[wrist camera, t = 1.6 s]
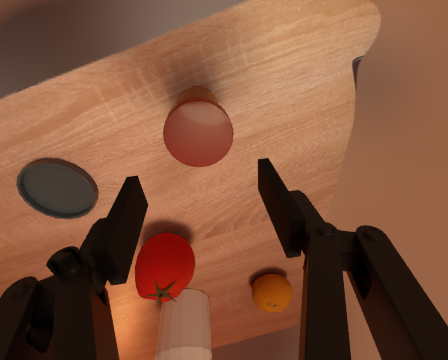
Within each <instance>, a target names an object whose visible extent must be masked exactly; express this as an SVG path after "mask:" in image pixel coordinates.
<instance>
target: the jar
mask: <svg viewBox="0 0 448 360" xmlns="http://www.w3.org/2000/svg"><path fill="white" fill-rule="evenodd" d="M192 97H203V98H207V99H210V100H213V101H214V102H216V103H218V101H217V99H216V97H215V95H214V94H213V93H212V92H211V91H210V90H209V89H207V88H205V87H202V86H192V87H189V88H187V89H185V90H184V91H183V92H182V93H181V94H180V96H179V98H178V101H177V104H178V103H179V102H181V101H183V100H185V99H188V98H192Z"/></svg>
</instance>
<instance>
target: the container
mask: <svg viewBox="0 0 448 360" xmlns="http://www.w3.org/2000/svg"><path fill="white" fill-rule="evenodd" d="M174 300H176V301H177V302H175V301H174ZM174 300H170V301H168V302H162V309H161V317H160V325H159V333H158V341H157V349H156V357H155V360H211V358H212V354H211V334H210V315H209V299H208V297H207V295H206V294H204V293H203V292H202V291H198V290H194V289H183V291H182V292H181V293H180V295H179V296H178V297H177V298H174Z"/></svg>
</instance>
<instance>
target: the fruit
mask: <svg viewBox="0 0 448 360" xmlns="http://www.w3.org/2000/svg"><path fill="white" fill-rule="evenodd" d="M292 294H293V292H292V287H291V284H290V283H289V281H288V280H287V279H286V278H284V277H283V276H281V275H278V274H266V275H263V276H260V277H259V278H257V279H256V280H255V282H254V284H253V287H252V297H253V300H254V302H255V304H256V305H257V307H258V308H260V309H261V310H263V311H267V312H279V311H282V310H283V309H285V308H286V307H287V306H288V304H289V303H290V301H291V299H292Z"/></svg>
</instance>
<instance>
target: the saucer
mask: <svg viewBox="0 0 448 360" xmlns="http://www.w3.org/2000/svg"><path fill="white" fill-rule="evenodd" d="M16 185H17V188H18V191H19V194H20V195H21V197H22V198H23V199H24V201H25V202H26V203H27V204H29V205H30V206H31V207H32V208H34V209H35V210H37V211H39V212H41V213H43V214H45V215H48V216H51V217H55V218H61V219H73V218H79V217H82V216H84V215H86V214H88V213H89V212H90V211H91V210H92V209H93V208H94V206H95V204H96V202H97V199H98V189H97V186H96V183H95V182H94V180H93V179H92V178H91V176H90V175H89V174H88V173H86V172H85V171H84V170H83V169H81V168H80V167H78V166H76V165H74V164H72V163H69V162H66V161H63V160H57V159H43V160H38V161H35V162H33V163H31V164H30V165H28V166H26V167H25V168H24V169H23V170H22V171H21V172H20V174H19V175H18V177H17V184H16Z"/></svg>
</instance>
